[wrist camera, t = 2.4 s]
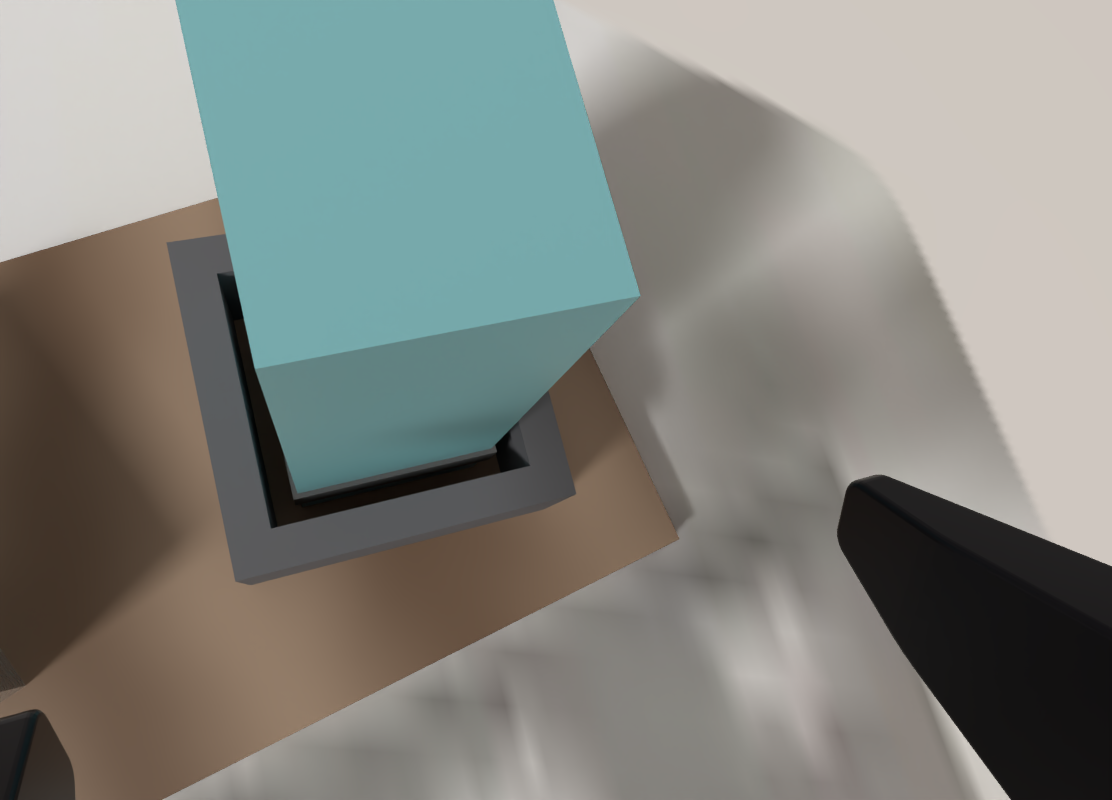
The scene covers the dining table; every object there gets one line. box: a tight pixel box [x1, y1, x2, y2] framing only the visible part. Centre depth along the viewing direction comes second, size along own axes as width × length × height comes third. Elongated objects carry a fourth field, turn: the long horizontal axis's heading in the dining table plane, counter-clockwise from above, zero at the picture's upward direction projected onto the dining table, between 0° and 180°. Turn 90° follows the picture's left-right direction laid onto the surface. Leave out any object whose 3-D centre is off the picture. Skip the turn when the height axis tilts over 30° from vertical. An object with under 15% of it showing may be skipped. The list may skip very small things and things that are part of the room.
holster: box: [166, 234, 576, 585], centre depth 19 cm, size 7×7×3 cm
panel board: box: [0, 198, 679, 800], centre depth 19 cm, size 24×12×1 cm, turn 116°
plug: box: [175, 0, 641, 507], centre depth 15 cm, size 4×4×12 cm
